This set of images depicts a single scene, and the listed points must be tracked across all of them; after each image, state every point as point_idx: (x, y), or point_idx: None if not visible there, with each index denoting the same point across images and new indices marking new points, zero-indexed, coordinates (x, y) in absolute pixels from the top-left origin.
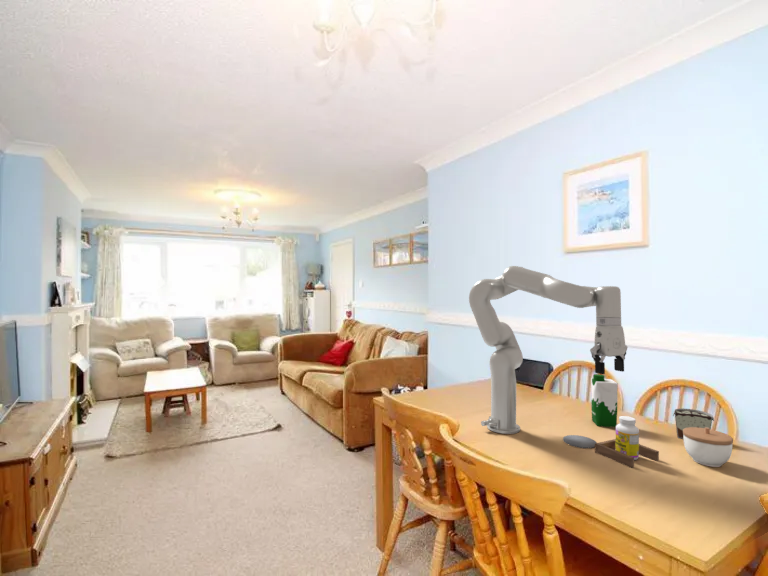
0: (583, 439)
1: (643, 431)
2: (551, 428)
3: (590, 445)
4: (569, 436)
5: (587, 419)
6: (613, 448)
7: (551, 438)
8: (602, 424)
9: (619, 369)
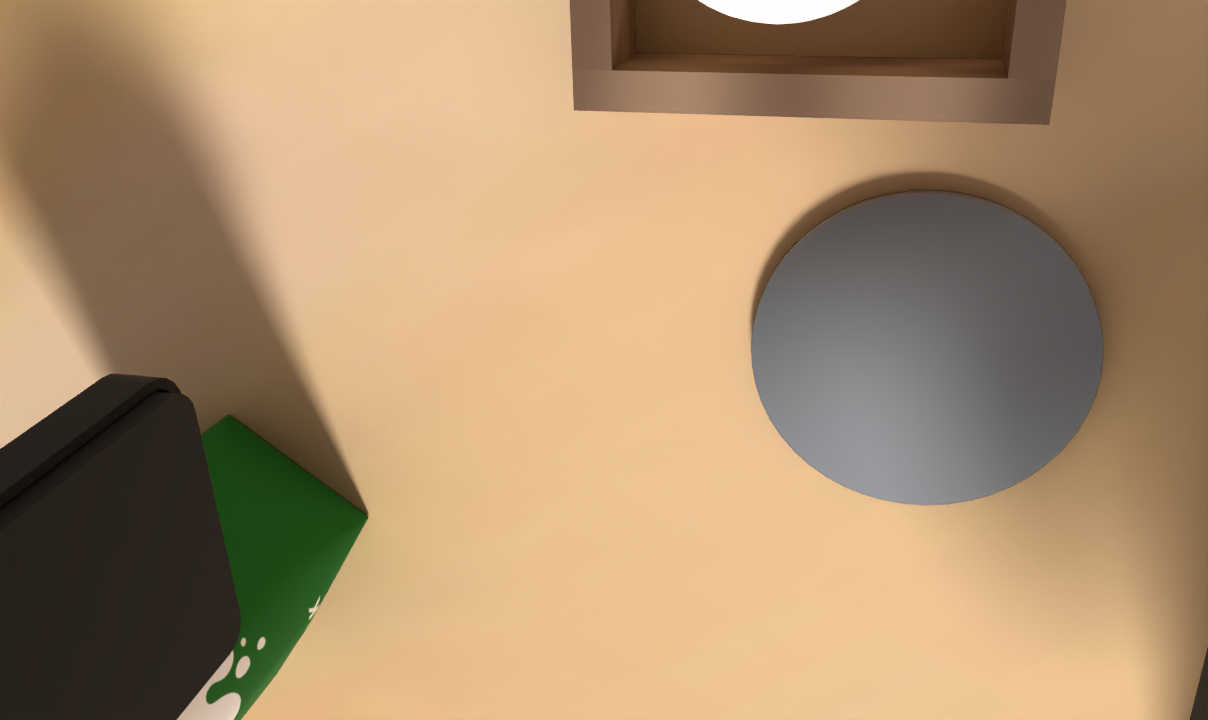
0: (849, 361)
1: (71, 239)
2: (834, 693)
3: (941, 223)
4: (908, 477)
5: (314, 649)
6: (777, 58)
7: (1095, 551)
8: (323, 497)
9: (181, 510)
